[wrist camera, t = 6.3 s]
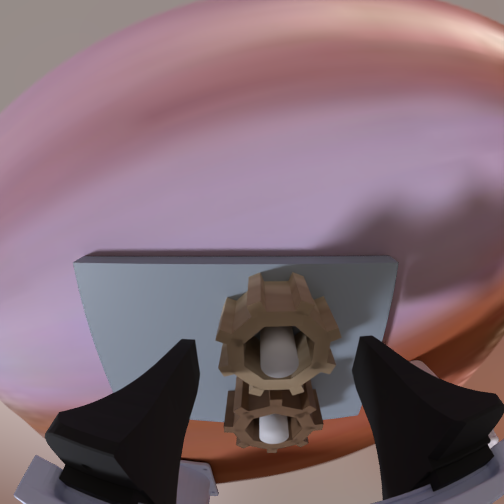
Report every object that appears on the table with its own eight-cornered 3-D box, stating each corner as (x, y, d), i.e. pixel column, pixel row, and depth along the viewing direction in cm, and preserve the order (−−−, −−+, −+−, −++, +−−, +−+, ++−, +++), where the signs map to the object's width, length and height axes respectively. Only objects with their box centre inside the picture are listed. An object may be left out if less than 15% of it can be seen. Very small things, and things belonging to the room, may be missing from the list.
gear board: (354, 404, 18) (369, 450, 13) (125, 397, 18) (104, 439, 14) (389, 255, 14) (432, 289, 10) (83, 256, 15) (36, 286, 10)
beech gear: (319, 357, 15) (330, 392, 12) (227, 358, 15) (221, 395, 12) (330, 271, 13) (347, 298, 10) (220, 272, 13) (211, 300, 11)
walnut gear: (322, 405, 16) (330, 438, 13) (250, 425, 17) (248, 457, 14) (299, 352, 15) (307, 388, 12) (214, 377, 15) (208, 413, 13)
